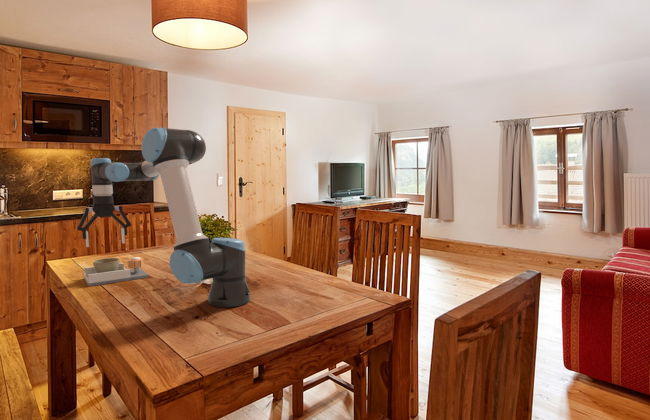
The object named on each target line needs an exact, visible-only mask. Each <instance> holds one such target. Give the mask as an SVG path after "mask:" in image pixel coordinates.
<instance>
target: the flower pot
mask: <svg viewBox="0 0 650 420" xmlns="http://www.w3.org/2000/svg"><path fill="white" fill-rule="evenodd" d="M92 263H93V267H94V268H95V270H96V272H97V273H103V272H111V271H117V269H118V266H119V263H120V258H117V257H106V258H98V259H96V260H93V261H92Z"/></svg>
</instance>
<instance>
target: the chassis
mask: <svg viewBox="0 0 650 420" xmlns="http://www.w3.org/2000/svg"><path fill="white" fill-rule="evenodd" d="M83 271H84V272H83V280H84V282H85V283H86V285H87V287H93V286H99V285H101V286H102V285H106V284H107V285H108V284H113V283H114V284H115V283H122V282H127V281H134V280H141V279H147V278H149V274H148V273H147V272H145V270H143V269H142V267H140V268H126V267H125V264H124V262H119V266H118V269H117V271H111V272H103V273H97V272H96V270H95V268H94V266H89V267H88V266H87V267H84V268H83Z"/></svg>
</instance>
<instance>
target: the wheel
mask: <svg viewBox="0 0 650 420" xmlns="http://www.w3.org/2000/svg"><path fill="white" fill-rule="evenodd" d="M144 266H145V259H144V258H143V257H139V256H134V257H131V258H129V259H127V267H128V269H134V268H143V267H144Z"/></svg>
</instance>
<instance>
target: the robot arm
mask: <svg viewBox="0 0 650 420" xmlns="http://www.w3.org/2000/svg"><path fill="white" fill-rule="evenodd" d="M206 151H207V145H206V142H205V139H204V138H203V137H202V136H201V135H200V134H199V133H198V132H196V131H194V130H190V129H177V128H165V127H152V128H149V129H148V130H147V131H146V133H145V134H144V136H143V139H142V142H141V154H142V157H143V159H144V161H141V162H120V161H118V162H115V161H114V162H112V160H111V158H107V157H106V158H105V157H104V158H103V157H95V158H91V160H90V171H91V172H90V173H91V175H90V176H91V186H92V189H91V190H92V195H93V196H92V207H87V206H86V207H84V212H83V215H82V217H81V218H80V220H79V223H78V225H77V227H76V230H77V231H79V232H81V234H82V239H83V240H85V246H86V248H90V241H89V238H90V237H89V231H88V229H89V228H90V226H91V225H92V224H93V223H94V222H95V221H96V220H97V219H98V218H109V217H112V218H113V220H115V222H117V223H118V224H119V225H120V226H121V228H120V229H121V230H120V234H121V244H126V239H125V236H128V228H129V227H131V226H132V223H131V222H130V220H129V219H128V217H127V215H126V214H125V212H124V210H123V206H122V205H116V206H115V204H114V195H113V194H114V190H113V188H114V187H113V182H115V183H117V182H131V181H132V182H134V181H135V182H137V181H139V182H141V181H147V182H149V181H150V182H151V181H155V180H158V178H159V176H160V179H161V183H162V186H163V191H164V195H165V199H166V202H167V206H168V211H169V214H170V215H169V216H170V219H171V222H172V226H173V230H174V234H175V238H176V241H175V243H174V245H173V250H174V251H172V252H171V254H170V256H169V267H170V270H171V273H172V274H173V276H174V277H175V279H176V280H178V281H179V282H180V283H182V284H186V285H188V284H189V285H191V284H196V283H197V284H198V283H200V282H203V281H207V280H210V279H212V281H211V285H210V288H209V291H208V294H207V295H208V296H207V303H208V304H209V305H210V306H212V307H217V308H234V307H240V306H244V305H246V304H247V303H249V302H250V301H251V292H250V288H249V286H248V283H247V281H246V249H245V248H246V247H245V246H246V245H245V242H244V240H242V239H240V238H232V237H213V238H212V239H211V242H210V237H209V236H206V235H205V234H204V233H203V230H202V226H201V222H200V218H199V214H198V211H197V207H196V204H195V202H196V201H195V199H194V196H193V191H192V187H191V184H190V179H189V176H188V171H187V167H188V166H189V165H191V164H195V163H197V162H199V161H201V160H202V159H203V158H204V157H205V155H206ZM115 210H116V211H117V212H119V214H120V216H121V217H122V219H123V220H124V222H125V223H124V222H123V221H122V220H121V219H120V218H119V217H118V216H117V215H116V214H115V212H114V211H115ZM91 212H93V213H94V214H92V217H91V218H90V219H89V220H88V221H87V222H86V224H85V225H84V223H85V221H86V220H87V217H88V216H89V214H90V213H91Z"/></svg>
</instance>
